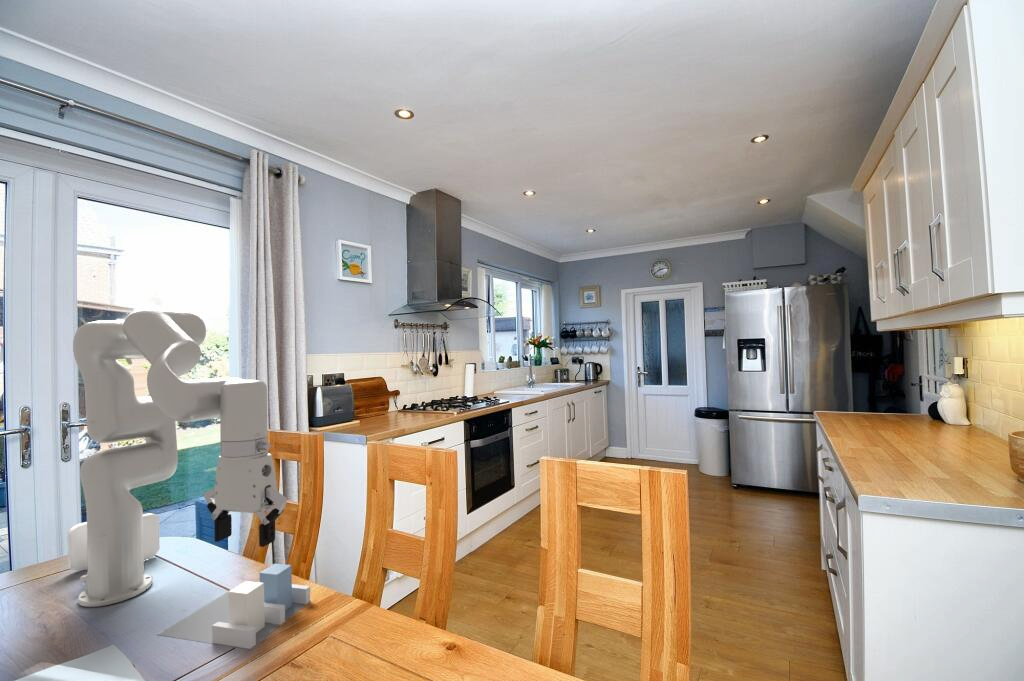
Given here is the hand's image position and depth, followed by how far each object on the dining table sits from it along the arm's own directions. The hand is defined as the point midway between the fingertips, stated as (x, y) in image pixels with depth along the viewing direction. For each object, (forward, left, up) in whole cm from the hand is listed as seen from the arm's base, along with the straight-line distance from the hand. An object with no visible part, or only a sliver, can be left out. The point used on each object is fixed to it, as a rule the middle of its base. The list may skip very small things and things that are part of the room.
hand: (244, 541), depth 87 cm
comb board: (-5, +3, -18) cm, 19 cm away
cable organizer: (-57, +18, -18) cm, 63 cm away
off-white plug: (0, 0, -16) cm, 16 cm away
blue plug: (0, +7, -16) cm, 18 cm away
